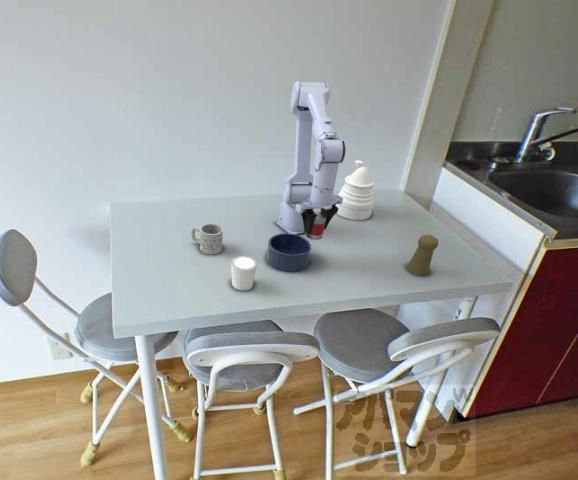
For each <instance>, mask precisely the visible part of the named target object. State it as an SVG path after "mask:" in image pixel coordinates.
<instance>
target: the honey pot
mask: <svg viewBox="0 0 578 480" xmlns="http://www.w3.org/2000/svg"><path fill="white" fill-rule="evenodd" d="M363 164H364V161H362V160H360V159H356V160H355V161H354V165H355V168H356V169H355V170H354V171H353V172H352V173H351V174H349V175H347V176H346V177H345V178H344V182H345V183H344V184H343V186H342V188H341V189H340V192H338V194H337V195H340V196H341V197H343V201H342V204H340V205H339V204H336V207H338V208H339V209H338V212H337V213H336V214H337V215H339V216H340V217H342V218H345V219H349V220H354V221H363V220H367V219H369V218H370V217H371V215H372V211H373V208H374V204H375V197H374V193H375V191H374V186H375V182H374V180H373V179H372V175H371V172H370V170H369V169H368V167H366V166H364V165H363Z"/></svg>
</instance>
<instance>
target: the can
mask: <svg viewBox="0 0 578 480" xmlns="http://www.w3.org/2000/svg"><path fill="white" fill-rule="evenodd" d="M314 213H315V214H316V215H317V217H316V218H315V220H314V223H313V226H312V230H311V233H310V234H307V233H306V232H305V237H306V239H309V240H312V241H320V240H321V239H323V235H324V231H325V230H324V228H325V223H326V215H325V214H324V213H322V212H321V211H314Z"/></svg>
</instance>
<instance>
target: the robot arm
mask: <svg viewBox="0 0 578 480" xmlns="http://www.w3.org/2000/svg"><path fill="white" fill-rule="evenodd" d="M291 88H292V89H291V93H290V94H291V95H290V113H291V114H292V115H295V140H294V141H295V144H294V163H293V164H294V166H293V167H294V168H293V172H292V173H291V174H289V176H287V177H286V178H285V180H284V185H283V191H282V198H283V201H282V202H281V203H280V206H279V214H278V220H277V221H275V223H276V224H277V225H278V226H279V227H281V228H282V229H283V230H284V231H285V232H286V233H289V234H295V235H300V234H304V233H305V234H306V233H307V234H310V233H311V230H312V226H313V223H314V220H315V218H316V217H317V215H316V214H315V213H314V212H315V209H317V210H318V209H320V212H322V213H324V214H325V215H326V223H325V228H324V231H326V229H327V227H329V224H330V222H331V220H332V219H333V218H334V216H335V215H336V214H338V213H337V212H338V209H339V208H338V207H336V204H339V205H340V204H342V201H343V197H341V196H340V195H338V194H337V195H333V194H334V190H335V186H336V180H337V177H338V171H339V166H340V164H342V163H343V162H344V160H345V158H346V151H347V144H346V141H345V139H344V138H342V136H339V135H338V131H337V128H336V125H335V121H334V120H333V118H332V117H329V114H328V113H329V112H328V107H327V105H328V104H329V100H330V96H331V87H330V85H329V83H328V82H327V81H324V82H313V81H311V82H307V81H297V80H296V81H295V83H294V84H293V85H292V87H291ZM312 134H313V136H312ZM312 137H314V142H315V148H314V162H313V164H314V168H315V169H314V174H313V175H312V174H311V173H310V172H311V171H310V170H311V156H312V155H311V153H312Z"/></svg>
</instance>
